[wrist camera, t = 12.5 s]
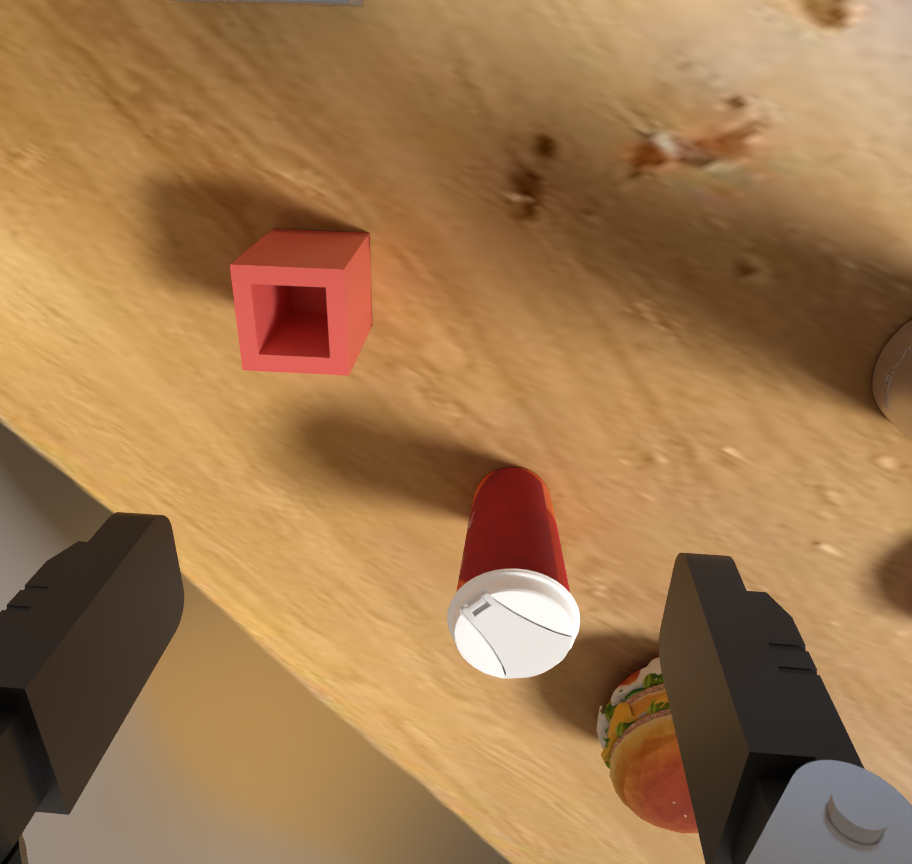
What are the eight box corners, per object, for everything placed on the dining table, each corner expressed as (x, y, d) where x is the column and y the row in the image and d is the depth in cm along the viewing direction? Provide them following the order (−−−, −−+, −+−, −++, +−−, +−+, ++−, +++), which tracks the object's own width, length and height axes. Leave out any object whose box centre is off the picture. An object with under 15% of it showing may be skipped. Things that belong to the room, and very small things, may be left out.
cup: (369, 232, 45) (343, 269, 38) (372, 325, 47) (348, 375, 40) (273, 228, 45) (229, 264, 38) (281, 320, 48) (242, 370, 41)
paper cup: (438, 495, 54) (417, 632, 41) (515, 434, 51) (518, 561, 38) (509, 558, 56) (510, 705, 44) (587, 503, 53) (612, 644, 41)
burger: (765, 739, 64) (806, 851, 55) (614, 765, 67) (630, 876, 58) (739, 629, 58) (780, 735, 49) (574, 663, 61) (585, 769, 52)
